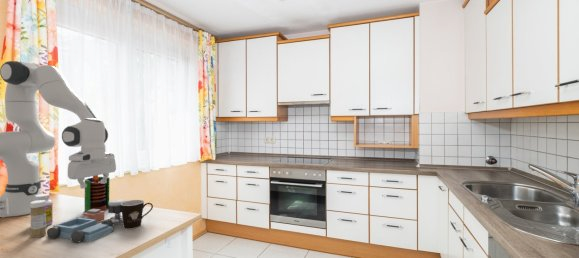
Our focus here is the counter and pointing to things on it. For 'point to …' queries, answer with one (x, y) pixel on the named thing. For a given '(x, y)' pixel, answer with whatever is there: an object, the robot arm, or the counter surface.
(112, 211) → the wheel
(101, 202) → the motor
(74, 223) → the chassis
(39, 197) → the supplement bottle
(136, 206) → the coffee mug
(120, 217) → the axle mount
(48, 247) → the counter surface
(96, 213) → the block
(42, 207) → the sprinkles bottle
